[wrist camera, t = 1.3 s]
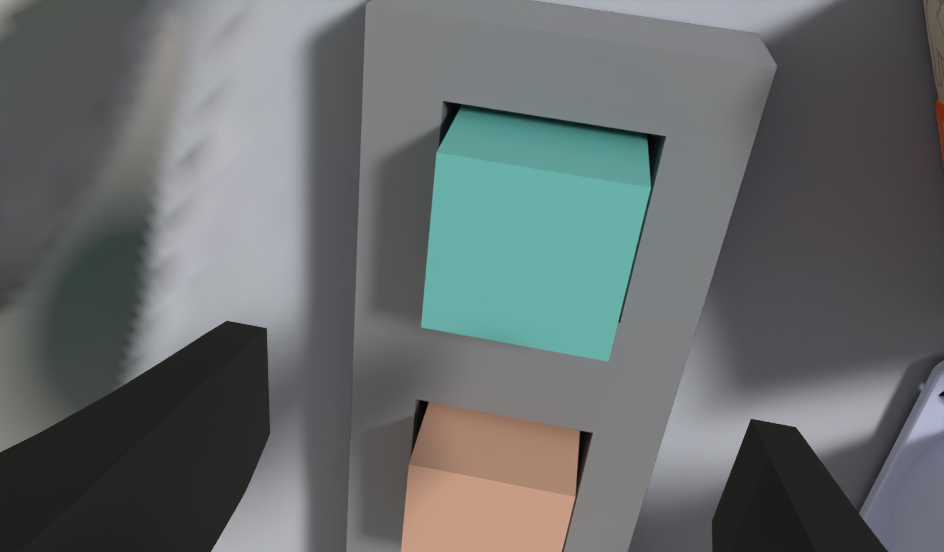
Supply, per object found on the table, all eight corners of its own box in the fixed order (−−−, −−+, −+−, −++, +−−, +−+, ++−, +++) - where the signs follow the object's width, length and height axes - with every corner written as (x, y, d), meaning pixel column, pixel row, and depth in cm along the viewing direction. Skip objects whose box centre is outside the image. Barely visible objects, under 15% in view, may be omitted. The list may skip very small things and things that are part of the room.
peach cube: (557, 505, 24) (548, 605, 21) (426, 479, 24) (398, 573, 21) (581, 402, 22) (575, 497, 19) (437, 375, 22) (408, 464, 19)
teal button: (610, 277, 20) (608, 361, 17) (451, 249, 20) (421, 327, 17) (646, 122, 18) (651, 187, 15) (467, 94, 18) (436, 152, 15)
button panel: (569, 684, 30) (565, 752, 28) (360, 639, 30) (340, 701, 28) (758, 33, 17) (777, 66, 15) (395, -20, 18) (365, 4, 16)
